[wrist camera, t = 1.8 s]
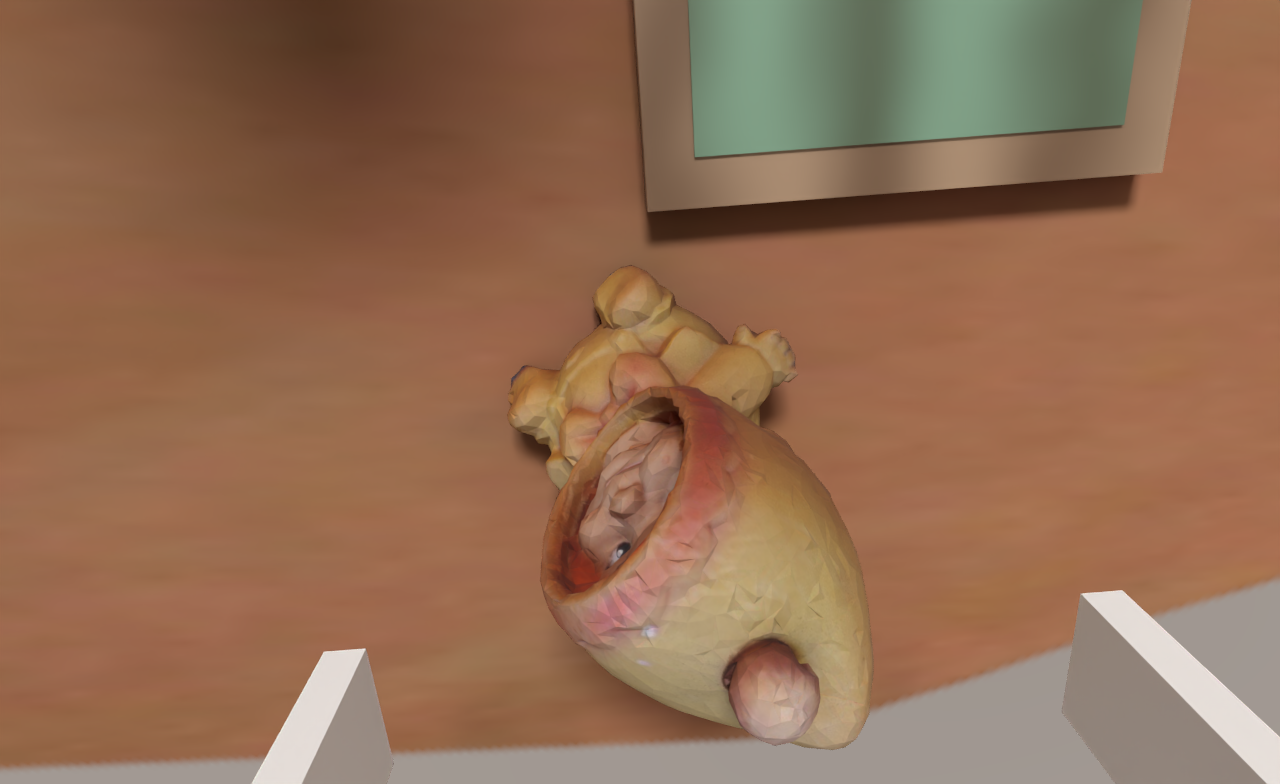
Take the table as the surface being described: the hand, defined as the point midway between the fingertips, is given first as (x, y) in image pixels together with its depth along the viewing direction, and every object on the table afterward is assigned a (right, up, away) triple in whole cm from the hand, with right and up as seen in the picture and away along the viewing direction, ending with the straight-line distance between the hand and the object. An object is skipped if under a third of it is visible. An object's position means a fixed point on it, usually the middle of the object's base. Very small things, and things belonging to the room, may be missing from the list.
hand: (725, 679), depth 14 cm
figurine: (-1, +5, +13) cm, 14 cm away
